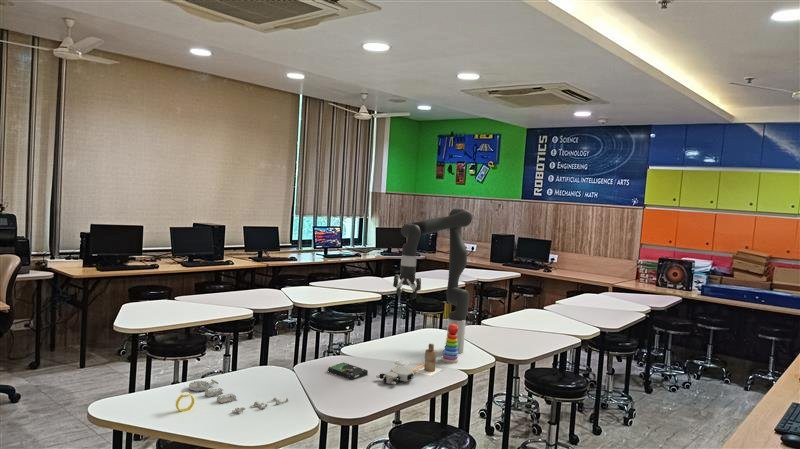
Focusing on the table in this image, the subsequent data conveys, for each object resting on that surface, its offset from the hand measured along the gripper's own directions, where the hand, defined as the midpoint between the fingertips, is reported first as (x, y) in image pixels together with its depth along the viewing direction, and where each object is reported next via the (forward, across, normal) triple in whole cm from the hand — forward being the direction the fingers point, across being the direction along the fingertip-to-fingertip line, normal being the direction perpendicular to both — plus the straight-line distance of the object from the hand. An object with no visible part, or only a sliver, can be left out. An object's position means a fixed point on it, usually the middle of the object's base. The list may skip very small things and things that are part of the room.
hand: (406, 297), depth 262 cm
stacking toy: (+30, -21, -11) cm, 38 cm away
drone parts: (+31, +23, +85) cm, 93 cm away
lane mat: (+30, -12, +10) cm, 34 cm away
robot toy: (+30, -15, +31) cm, 46 cm away
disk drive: (+31, +6, +37) cm, 49 cm away
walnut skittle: (+30, -20, +9) cm, 37 cm away
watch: (+30, +26, +106) cm, 113 cm away
